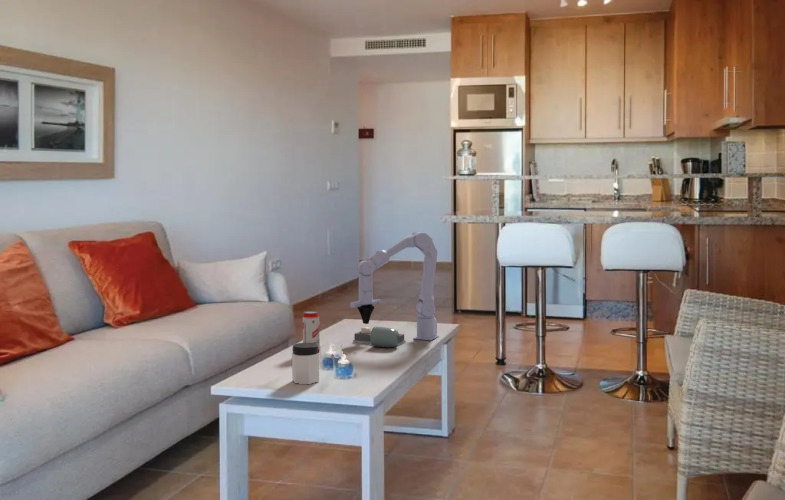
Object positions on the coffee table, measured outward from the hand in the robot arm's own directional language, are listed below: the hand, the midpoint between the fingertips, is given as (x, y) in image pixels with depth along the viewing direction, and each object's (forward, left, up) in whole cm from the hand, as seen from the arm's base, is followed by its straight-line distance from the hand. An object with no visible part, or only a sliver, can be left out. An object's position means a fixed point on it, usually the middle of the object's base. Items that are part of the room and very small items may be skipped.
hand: (365, 323), depth 319 cm
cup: (+7, +18, -3) cm, 19 cm away
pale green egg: (0, +12, -5) cm, 13 cm away
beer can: (+30, -8, -7) cm, 32 cm away
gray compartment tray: (0, +6, -7) cm, 9 cm away
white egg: (0, 0, -5) cm, 5 cm away
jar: (+66, +11, -7) cm, 67 cm away
